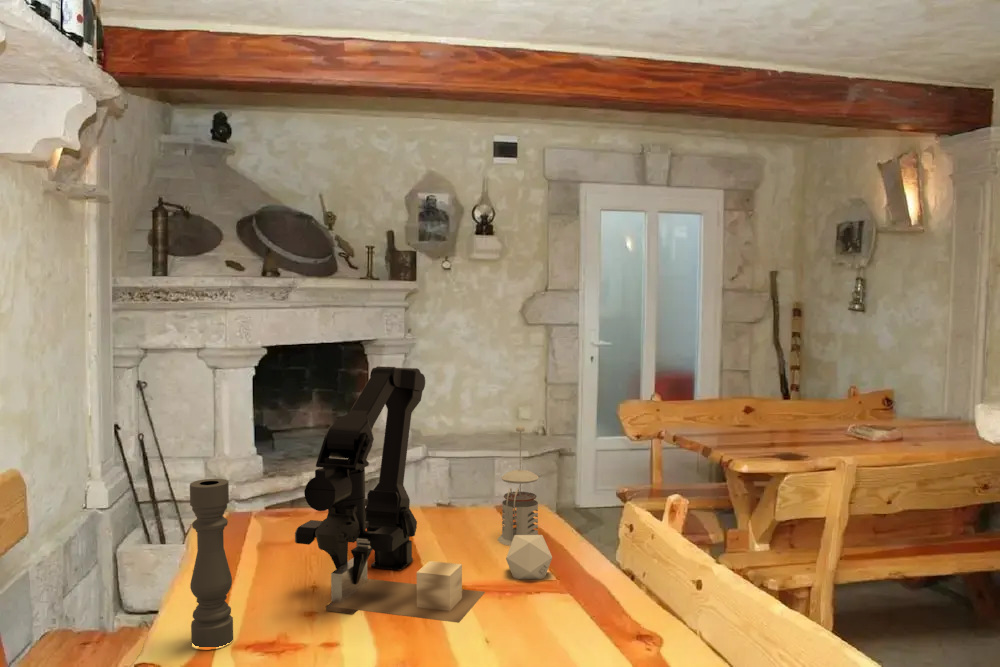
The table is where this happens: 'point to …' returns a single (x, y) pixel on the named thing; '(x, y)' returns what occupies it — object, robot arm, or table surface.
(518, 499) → the french press
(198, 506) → the candle holder
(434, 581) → the cube
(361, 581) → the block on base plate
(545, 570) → the die
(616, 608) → the table surface
